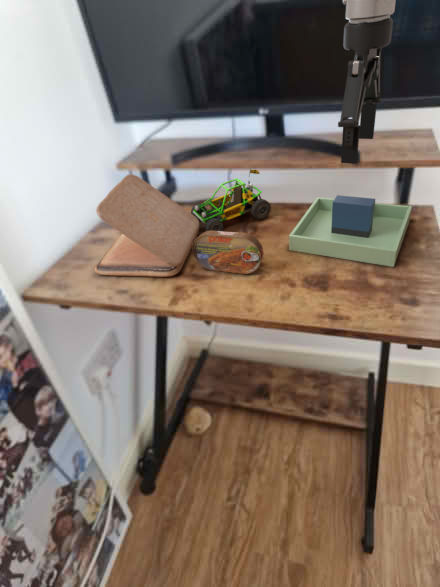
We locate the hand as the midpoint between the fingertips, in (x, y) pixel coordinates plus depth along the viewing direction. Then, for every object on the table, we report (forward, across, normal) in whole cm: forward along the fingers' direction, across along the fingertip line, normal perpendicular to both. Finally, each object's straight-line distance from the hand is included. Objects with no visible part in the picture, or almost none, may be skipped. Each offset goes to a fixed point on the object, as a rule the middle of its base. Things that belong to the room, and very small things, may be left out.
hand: (357, 150), depth 78 cm
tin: (+19, +20, -20) cm, 34 cm away
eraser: (+18, 0, 0) cm, 18 cm away
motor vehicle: (+19, 0, -30) cm, 35 cm away
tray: (+19, 0, 0) cm, 19 cm away
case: (+19, +20, -41) cm, 50 cm away
